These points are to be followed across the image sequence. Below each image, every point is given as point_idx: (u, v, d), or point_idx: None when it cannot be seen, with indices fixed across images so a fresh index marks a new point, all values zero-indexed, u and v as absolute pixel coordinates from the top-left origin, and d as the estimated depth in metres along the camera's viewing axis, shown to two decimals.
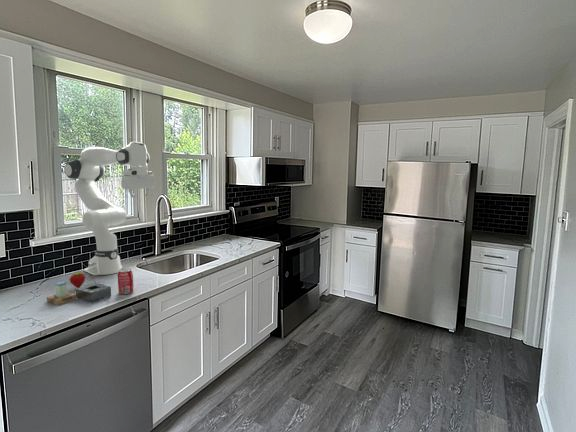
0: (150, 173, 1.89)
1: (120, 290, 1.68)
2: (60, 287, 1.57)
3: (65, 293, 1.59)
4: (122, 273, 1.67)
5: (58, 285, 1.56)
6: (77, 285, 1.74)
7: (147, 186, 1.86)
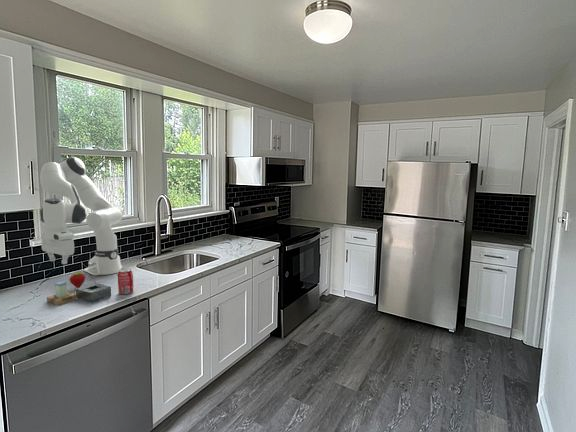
0: None
1: (120, 290, 1.68)
2: (60, 287, 1.57)
3: (65, 293, 1.59)
4: (122, 273, 1.67)
5: (58, 285, 1.56)
6: (77, 285, 1.74)
7: None
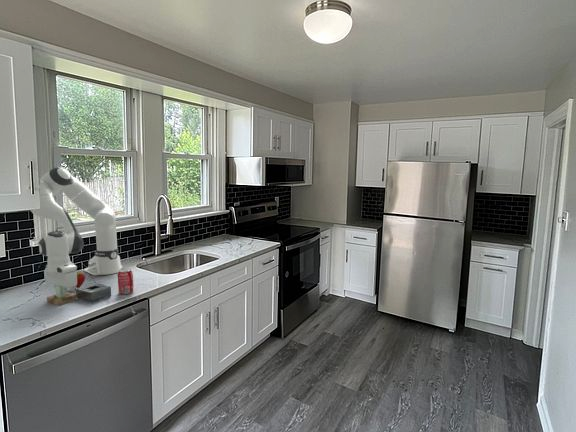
0: None
1: (120, 290, 1.68)
2: (60, 287, 1.57)
3: None
4: (122, 273, 1.67)
5: (58, 285, 1.56)
6: (77, 285, 1.74)
7: None
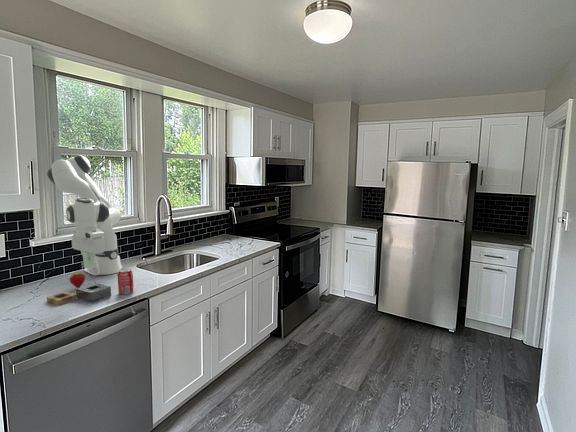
0: None
1: (120, 290, 1.68)
2: (88, 253, 1.59)
3: None
4: (122, 273, 1.67)
5: (85, 251, 1.59)
6: (77, 285, 1.74)
7: None
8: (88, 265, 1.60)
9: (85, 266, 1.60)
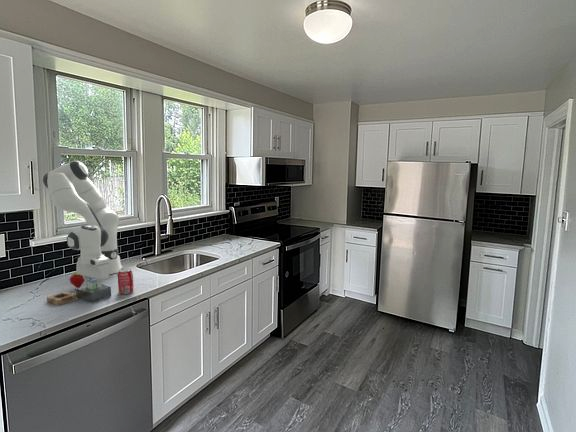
0: None
1: (120, 290, 1.68)
2: (93, 284, 1.62)
3: None
4: (122, 273, 1.67)
5: (91, 282, 1.61)
6: (77, 285, 1.74)
7: None
8: None
9: None
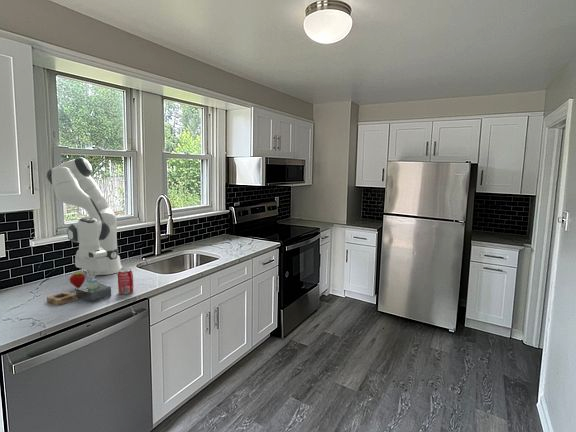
0: None
1: (120, 290, 1.68)
2: (93, 284, 1.62)
3: None
4: (122, 273, 1.67)
5: (90, 282, 1.61)
6: (77, 285, 1.74)
7: None
8: None
9: None
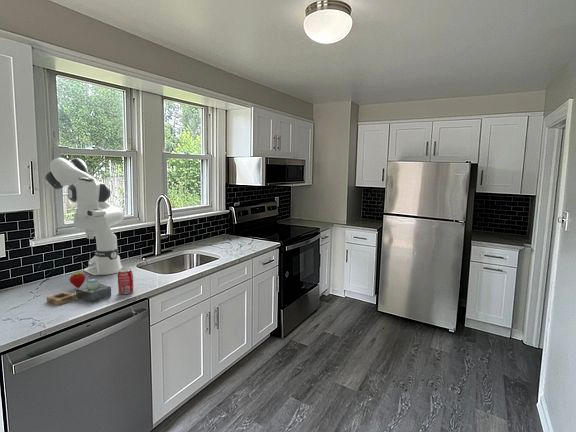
0: None
1: (120, 290, 1.68)
2: (93, 284, 1.62)
3: None
4: (122, 273, 1.67)
5: (90, 282, 1.61)
6: (77, 285, 1.74)
7: None
8: None
9: None
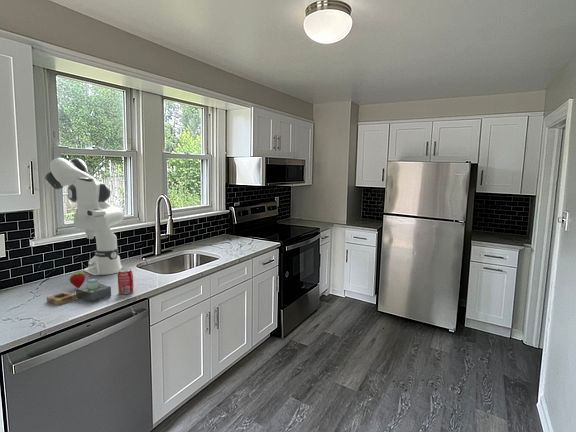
0: None
1: (120, 290, 1.68)
2: (93, 284, 1.62)
3: None
4: (122, 273, 1.67)
5: (90, 282, 1.61)
6: (77, 285, 1.74)
7: None
8: None
9: None
